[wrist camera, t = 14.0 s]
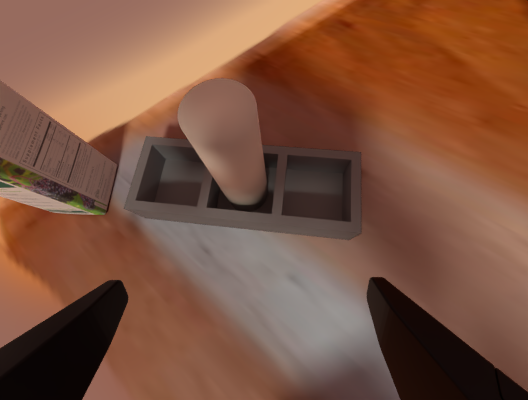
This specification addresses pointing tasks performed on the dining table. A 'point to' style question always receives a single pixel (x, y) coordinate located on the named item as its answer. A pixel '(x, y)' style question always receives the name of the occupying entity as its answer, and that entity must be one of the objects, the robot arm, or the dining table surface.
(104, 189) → the syrup box
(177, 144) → the caddy
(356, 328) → the dining table surface
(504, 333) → the dining table surface
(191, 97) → the beige tapered cylinder
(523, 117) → the dining table surface
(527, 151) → the dining table surface
